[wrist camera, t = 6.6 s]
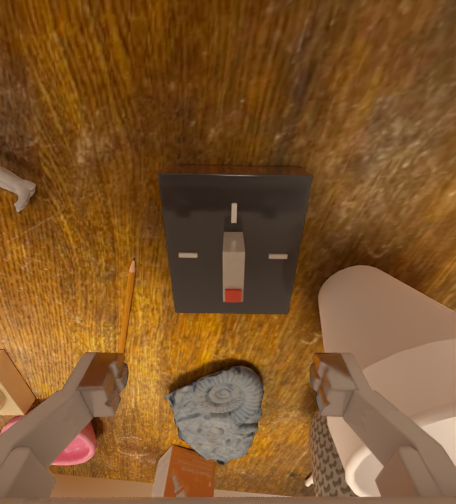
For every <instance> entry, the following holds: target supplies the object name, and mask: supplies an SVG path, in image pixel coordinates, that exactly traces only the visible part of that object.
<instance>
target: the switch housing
mask: <svg viewBox="0 0 456 504" xmlns="http://www.w3.org/2000/svg"><path fill="white" fill-rule="evenodd" d="M312 177H313V176H312V175H311V174H310V173H309V172H307V171H306V170H305V169H303V168H302V167H290V166H215V165H167V166H166V167H165V168H164V169H162V170H161V171H160V172H159V173H158V182H159V190H160V198H161V206H162V213H163V221H164V229H165V237H166V245H167V252H168V260H169V268H170V276H171V284H172V292H173V299H174V307H175V312H176V313H232V314H288V312H289V306H290V300H291V295H292V289H293V284H294V278H295V272H296V267H297V261H298V256H299V250H300V244H301V239H302V233H303V227H304V222H305V216H306V211H307V205H308V199H309V194H310V188H311V183H312ZM224 232H243V236H244V245H245V271H244V293H243V302H223V236H224Z"/></svg>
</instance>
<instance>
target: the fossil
mask: <svg viewBox="0 0 456 504" xmlns="http://www.w3.org/2000/svg"><path fill="white" fill-rule="evenodd" d="M263 394H264V391H263V384H262V381H261V379H260V378H259V376H258V375H257V374H256V373H255V372H254V370H253V369H251V368H249V367H245V366H235V367H231V368H228V369H225V370H222V371H219V372H216V373H213V374H209V375H206V376H204V377H202V378H200V379H198V380H196V381H193V382H192V383H191V384H189V385H185V386H183V387H182V388H179V389H176V390H175V391H174V392H171V393H169V394H166V395H165V399H167V400H168V401H169V404H170V407H172V408H173V413H174V418H175V419H174V421H175V424H176V426H177V427H178V436H179V439H181V440H183V441H185V442H186V443H187V444H189V445H190V446H191V447H192V448H193V449H194V450H195V451H197V453H198V454H199V455H200V456H202V457H203V458H204V459H205V460H209V459H213V460H214V461H217V462H218V463H219V464H221V465H224V464H225V465H226V464H227V462H228V461H229V460H231V459H238V458H240V457H242V456H244V455H246V454H247V451H248V449H249V448H250V446H251V444H252V442H253V438H254V435H255V431H257V430H258V421H259V419H260V417H261V416H262V410H261V406H260V404H261V401H262V398H263Z"/></svg>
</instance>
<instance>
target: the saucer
mask: <svg viewBox="0 0 456 504" xmlns="http://www.w3.org/2000/svg"><path fill="white" fill-rule="evenodd" d="M35 408H36V407H35ZM33 409H34V408H33ZM33 409H31V410H29V411H27V412H26V414H25V415H27V414H28V413H29V412H30V411H32V410H33ZM25 415H18V416H17V417H14V418H12V419H11V420H9V421H8V422H7V423H6V425H5V426H4V427H3V429H2V431H1V434H2V433H3V432H5V431H6V430H7V429H8V428H10V427H11V426H12V425H14V424H15V423H16V422H18V421H19V420H20V419H21V418H23V417H24V416H25ZM96 448H97V441H96V436H95V433H94V431H93V425H92V423H91V421H90V422H89V423H88V424H87V425H86V427H85V428H84V429H83V430H82V431H81V432H80V433H79V434H78V435H77V436H76V437H75V439H74V440H73V441H72V442H71V443H70V444H69V445H68V446H67V447H66V448H65V449H64V451H63V452H62V453H61V454H60V455H59V456H58V457H57V458H56V459H55V460H54V462H53V463H52V464H53V465H75V464H80V463H83V462H85V461H87V460H89V459H90V458H91V457H92V456H93V455H94V453H95V450H96Z"/></svg>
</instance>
